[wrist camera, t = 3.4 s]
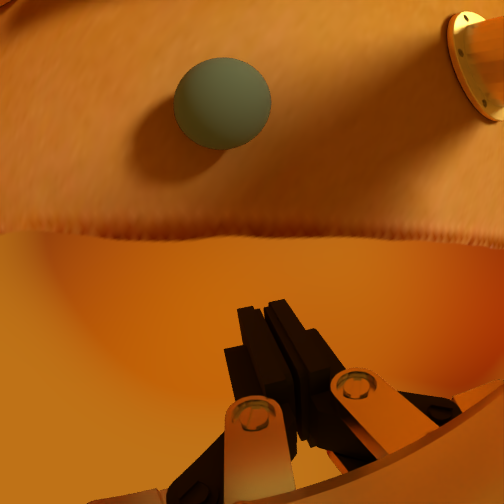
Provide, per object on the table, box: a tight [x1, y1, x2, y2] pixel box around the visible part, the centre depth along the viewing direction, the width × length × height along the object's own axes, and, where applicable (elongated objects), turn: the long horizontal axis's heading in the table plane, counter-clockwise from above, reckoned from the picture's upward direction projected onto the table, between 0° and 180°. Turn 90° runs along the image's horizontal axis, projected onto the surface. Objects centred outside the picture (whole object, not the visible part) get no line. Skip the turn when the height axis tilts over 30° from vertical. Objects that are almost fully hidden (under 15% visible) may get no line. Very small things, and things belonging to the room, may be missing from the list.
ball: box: [174, 58, 271, 150], centre depth 16 cm, size 6×6×6 cm
